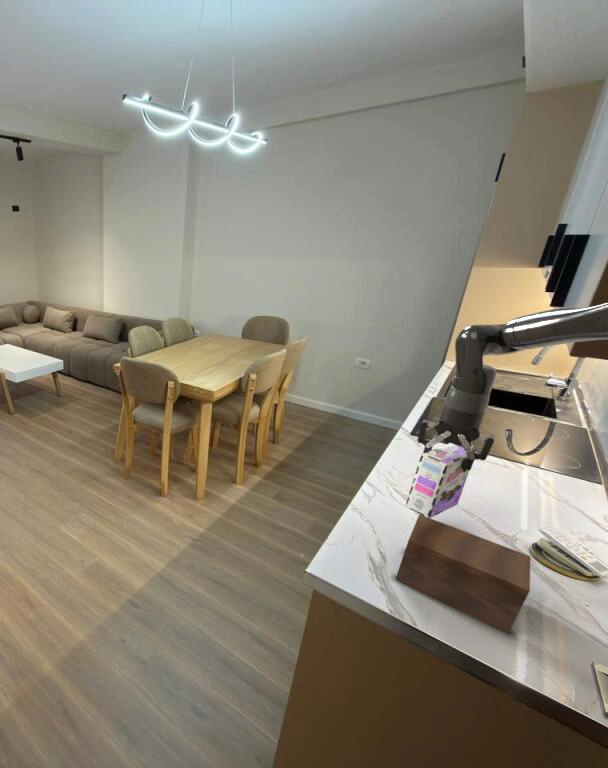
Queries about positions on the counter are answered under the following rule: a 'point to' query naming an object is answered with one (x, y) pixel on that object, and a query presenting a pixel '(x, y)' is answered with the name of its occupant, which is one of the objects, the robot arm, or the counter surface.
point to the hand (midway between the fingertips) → (445, 464)
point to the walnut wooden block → (466, 572)
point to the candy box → (438, 480)
